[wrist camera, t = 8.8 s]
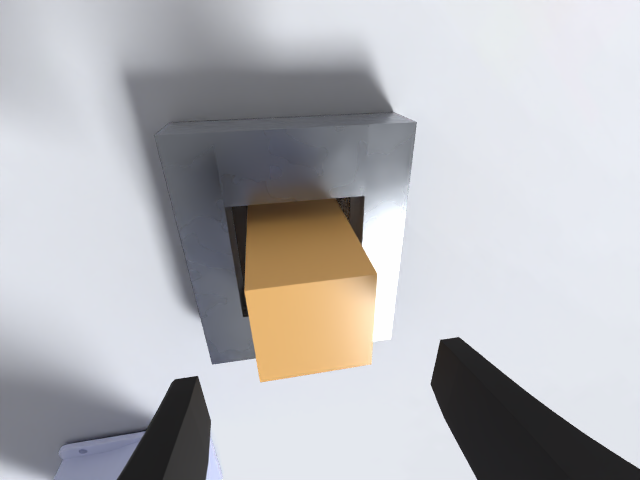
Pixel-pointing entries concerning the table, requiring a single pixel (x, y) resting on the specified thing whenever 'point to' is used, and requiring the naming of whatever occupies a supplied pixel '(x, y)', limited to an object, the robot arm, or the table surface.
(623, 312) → the table surface
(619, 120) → the table surface
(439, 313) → the table surface
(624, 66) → the table surface
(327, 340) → the square block
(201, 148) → the square hole plate
